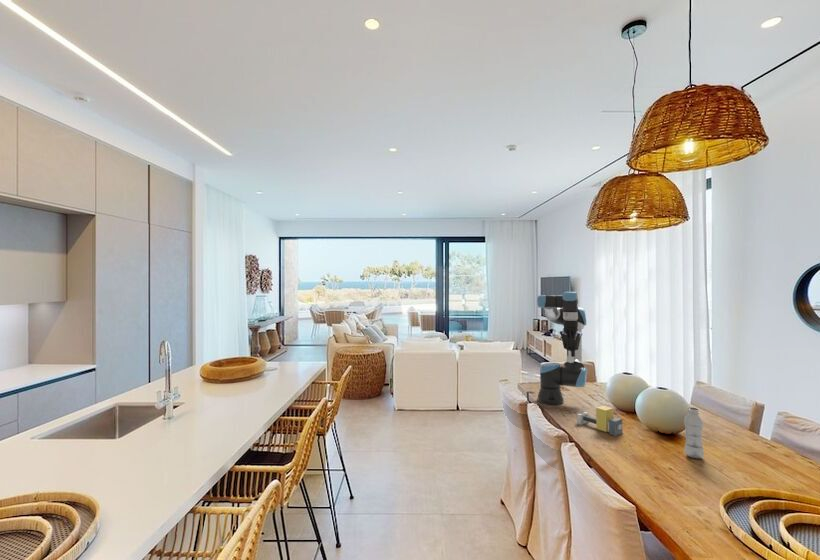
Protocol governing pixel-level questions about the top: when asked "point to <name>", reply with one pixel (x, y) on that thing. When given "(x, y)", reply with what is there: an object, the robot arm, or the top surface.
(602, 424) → the yellow rectangular block
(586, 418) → the grey slider rail
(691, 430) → the plastic bottle
